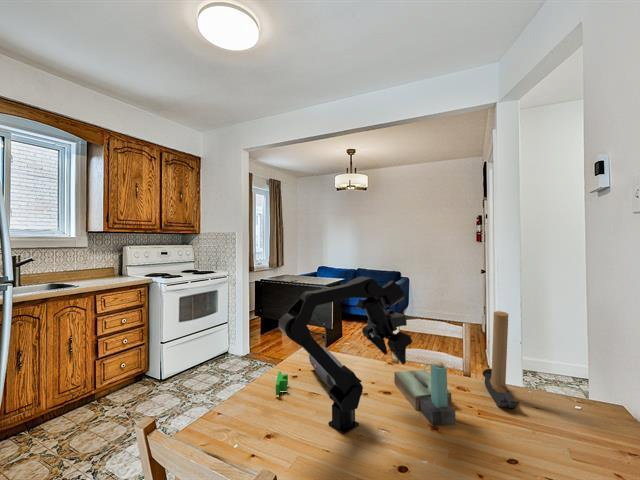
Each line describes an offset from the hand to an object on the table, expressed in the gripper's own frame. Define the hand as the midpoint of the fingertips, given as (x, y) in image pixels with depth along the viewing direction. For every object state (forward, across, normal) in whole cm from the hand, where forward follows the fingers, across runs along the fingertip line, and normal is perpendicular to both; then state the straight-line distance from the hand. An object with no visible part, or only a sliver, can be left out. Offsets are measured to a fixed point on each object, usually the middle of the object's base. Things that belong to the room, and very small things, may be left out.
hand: (394, 358), depth 95 cm
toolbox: (+20, +1, -5) cm, 21 cm away
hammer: (+30, -7, -27) cm, 41 cm away
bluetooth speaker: (+11, +29, +16) cm, 35 cm away
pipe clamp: (+4, +28, +33) cm, 44 cm away
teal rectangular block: (+19, -8, -3) cm, 21 cm away
